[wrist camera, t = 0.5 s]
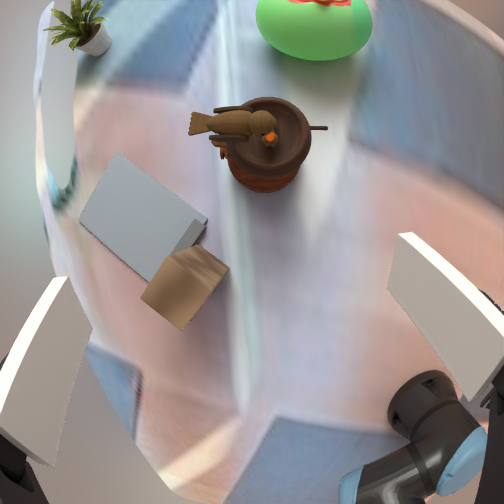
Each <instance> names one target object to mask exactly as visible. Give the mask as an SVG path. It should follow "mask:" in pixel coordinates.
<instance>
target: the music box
mask: <svg viewBox="0 0 504 504" xmlns="http://www.w3.org/2000/svg"><path fill="white" fill-rule="evenodd" d="M213 112H214V113H218V115H215V116H213V117H212V116H209V115H205V114H201V113H197V112H192V114H191V115H192V117H191V122H190V127H189V132H188V134H189V135H190V136H192V135H196V134H200V133H204V132H209V131H213V132H214V133H215V134H216V133H217V134H220V135H217V134H216V135H210V136H209V140H212V141H211V142H212V144H213V145H214V146H215V147H220V157H221V159H224V157H225V158H226V159H227V160H228V165H229V168H230V170H231V172H232V174H233V175H234V176H235V178H236V179H237V180H238V181H239V182H240V183H241V184H242V185H243V186H245V187H246V188H248V189H250V190H253V191H256V192H262V193H268V192H274V191H277V190H280V189H282V188H284V187H285V186H287V185H288V184H289V183H290V182H291V181H292V180H293V178H294V177H295V175H296V174H297V172H298V170H299V168H300V165H301V164H302V163H303V161H304V160H305V158H306V157H307V155H308V153H309V150H310V146H311V130H328V127H327V126H309V123H308V121H307V119H306V117H305V116H304V114H303V113H302V112H301V111H300V110H299V109H298V108H297V107H296V106H294V105H293V104H291V103H290V102H288V101H286V100H283V99H280V98H275V97H261V98H256V99H253V100H250V101H248V102H246V103H244V104H243V105H241V106H230V107H221V108H215V109H214V111H213Z"/></svg>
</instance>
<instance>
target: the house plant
mask: <svg viewBox="0 0 504 504" xmlns="http://www.w3.org/2000/svg"><path fill="white" fill-rule="evenodd" d="M102 1H103V0H101V1H100V2H102ZM91 2H92V0H88V1H87V3H86V4H85V5H84V6H83V8H82V9H81V0H75V5H74V1H73V0H71V15H72V18H73V19H71V18H70V17H69V16H67V15H66V14H65V13H64V12H62V11H57V10H55V9H51V11H52V13H53V14H54V15H55V16H56V17H57V18H58V19H59V20H60V21H61V22H62V23H63V24H62V25H65V26H66V27H63V26H53V27H49V28H46V29H44V30H43V31H46V30H62V32H64V33H62V34H60V35H57V36H55V37H52V38H51V39H50V40H52V39H53V38H56V39H55V40H54V41H53V42H52V45H55V44H56V43H58V42H60V41H62V40H64V39H66V38H71V37H73V40H72V41H71V42H70V44H69V47H70V48H71V49H72V50H73V51H74V48H77V49H79V50H82V51H84V52H86V53H88V54H90V55H92V56H99V55H101V54H103V53H104V52H106V51H107V50H108V48H109V47H110V45H111V42H112V40H111V38H110V36H109V34H108V32H107V31H106V29H105V27H104V26H103V24H102V22H101V21H103V20H105V19H104V18H103V17H96V18H94V19H93V17H94V15H95V14H96V13H97V11H98V10H99V9H100V8H101V6H102V5H104V4H101V5H99V3H100V2H99V3H98V2H96V3H93V4H92V5H90V4H91ZM97 3H98V4H97ZM96 4H97V5H96ZM95 5H96V6H95ZM94 6H95V8H94V9H93V11H92V12H91V14H90V17H89V21H88V22H87V17H88V14H89V12H90V11H91V9H92V8H93V7H94ZM86 8H87V9H86ZM84 14H85V17H84ZM106 21H107V20H106ZM58 33H61V32H58ZM54 34H57V33H54ZM54 34H52V35H54Z"/></svg>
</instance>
